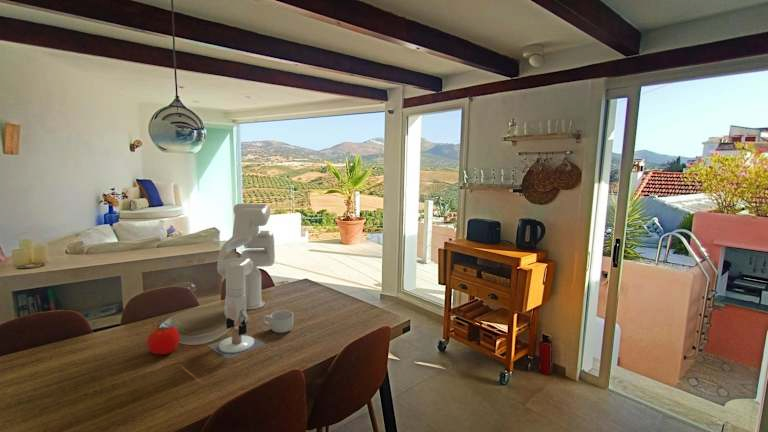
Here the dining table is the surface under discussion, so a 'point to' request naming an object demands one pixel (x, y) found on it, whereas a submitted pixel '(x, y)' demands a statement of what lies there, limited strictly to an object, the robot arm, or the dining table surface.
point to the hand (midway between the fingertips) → (236, 330)
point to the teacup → (280, 321)
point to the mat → (230, 355)
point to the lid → (236, 342)
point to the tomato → (163, 340)
